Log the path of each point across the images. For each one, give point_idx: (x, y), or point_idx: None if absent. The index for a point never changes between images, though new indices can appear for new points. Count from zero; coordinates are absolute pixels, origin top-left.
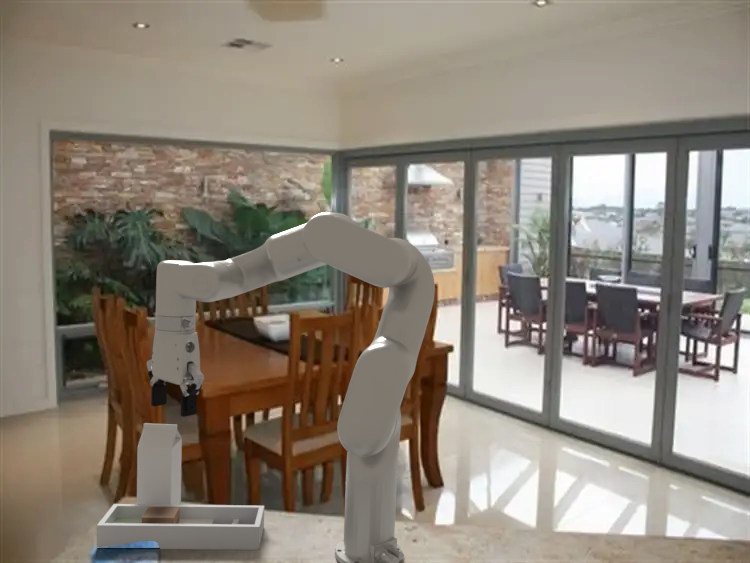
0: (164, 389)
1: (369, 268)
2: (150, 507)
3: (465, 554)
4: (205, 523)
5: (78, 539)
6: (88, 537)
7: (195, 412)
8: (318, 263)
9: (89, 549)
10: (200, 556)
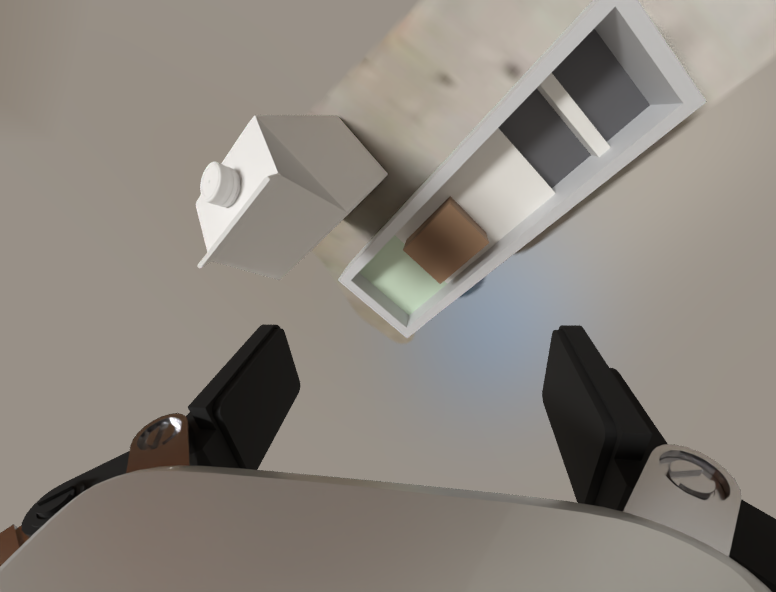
0: (239, 402)
1: None
2: (408, 248)
3: None
4: (500, 155)
5: (364, 318)
6: (366, 307)
7: (582, 332)
8: None
9: None
10: (569, 218)
